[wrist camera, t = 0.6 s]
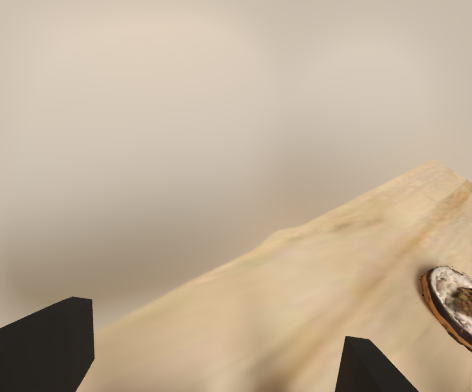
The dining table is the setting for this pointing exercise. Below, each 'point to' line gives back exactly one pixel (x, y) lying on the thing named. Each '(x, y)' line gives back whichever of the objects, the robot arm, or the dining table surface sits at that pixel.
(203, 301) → the dining table surface
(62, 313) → the robot arm
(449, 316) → the cream topped cake
